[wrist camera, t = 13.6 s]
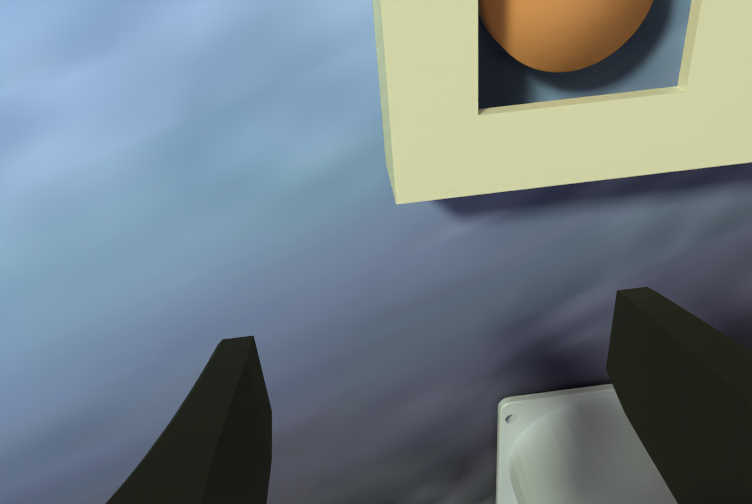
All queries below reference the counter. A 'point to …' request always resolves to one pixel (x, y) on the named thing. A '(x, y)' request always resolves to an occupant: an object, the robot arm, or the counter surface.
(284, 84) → the counter surface
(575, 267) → the counter surface
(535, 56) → the button
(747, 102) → the cream square frame
